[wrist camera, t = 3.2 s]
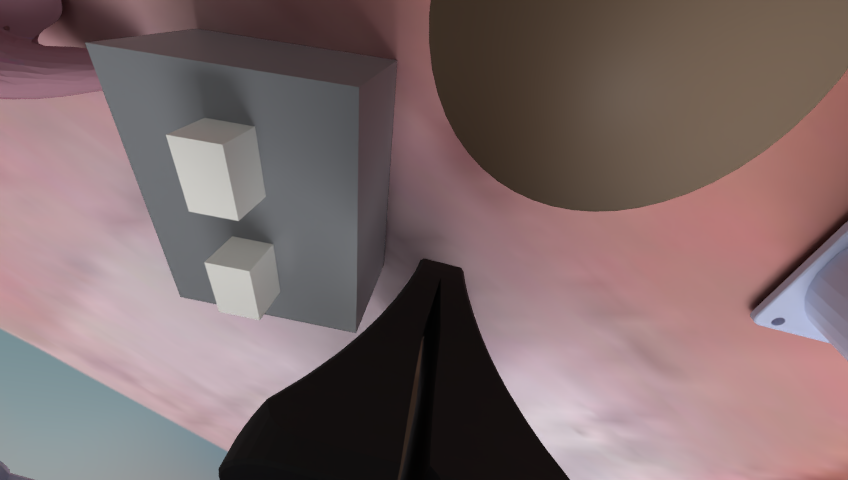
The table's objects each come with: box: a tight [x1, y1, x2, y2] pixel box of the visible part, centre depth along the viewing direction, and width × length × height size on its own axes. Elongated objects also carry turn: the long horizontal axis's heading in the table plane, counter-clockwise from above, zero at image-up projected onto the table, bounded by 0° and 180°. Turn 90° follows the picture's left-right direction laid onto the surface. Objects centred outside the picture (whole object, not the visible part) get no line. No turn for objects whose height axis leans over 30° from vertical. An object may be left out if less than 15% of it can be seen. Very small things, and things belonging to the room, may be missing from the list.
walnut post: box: [429, 0, 848, 211], centre depth 8 cm, size 4×4×10 cm
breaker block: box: [85, 29, 397, 333], centre depth 14 cm, size 8×10×7 cm
